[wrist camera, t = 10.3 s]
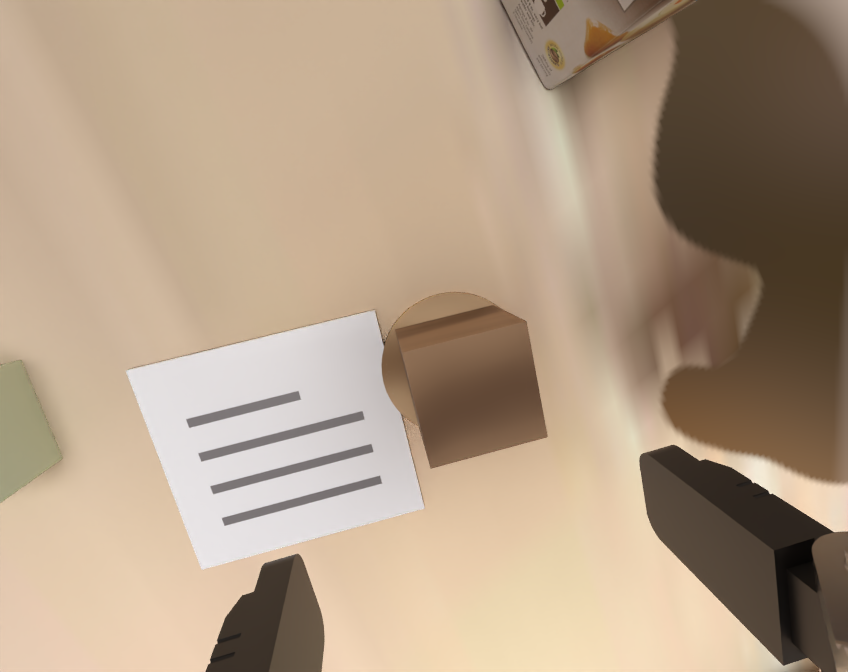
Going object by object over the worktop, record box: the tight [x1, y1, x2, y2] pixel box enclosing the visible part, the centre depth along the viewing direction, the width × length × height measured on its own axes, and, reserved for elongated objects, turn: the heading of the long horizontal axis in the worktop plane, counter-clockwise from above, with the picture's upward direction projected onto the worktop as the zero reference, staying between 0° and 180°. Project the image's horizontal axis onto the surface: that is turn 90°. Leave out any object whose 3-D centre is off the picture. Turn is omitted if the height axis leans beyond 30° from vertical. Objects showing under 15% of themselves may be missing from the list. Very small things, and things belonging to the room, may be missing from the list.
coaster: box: [381, 292, 499, 426], centre depth 26 cm, size 8×8×1 cm
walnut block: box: [395, 305, 547, 468], centre depth 23 cm, size 6×6×6 cm
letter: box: [126, 310, 425, 570], centre depth 26 cm, size 12×13×1 cm
